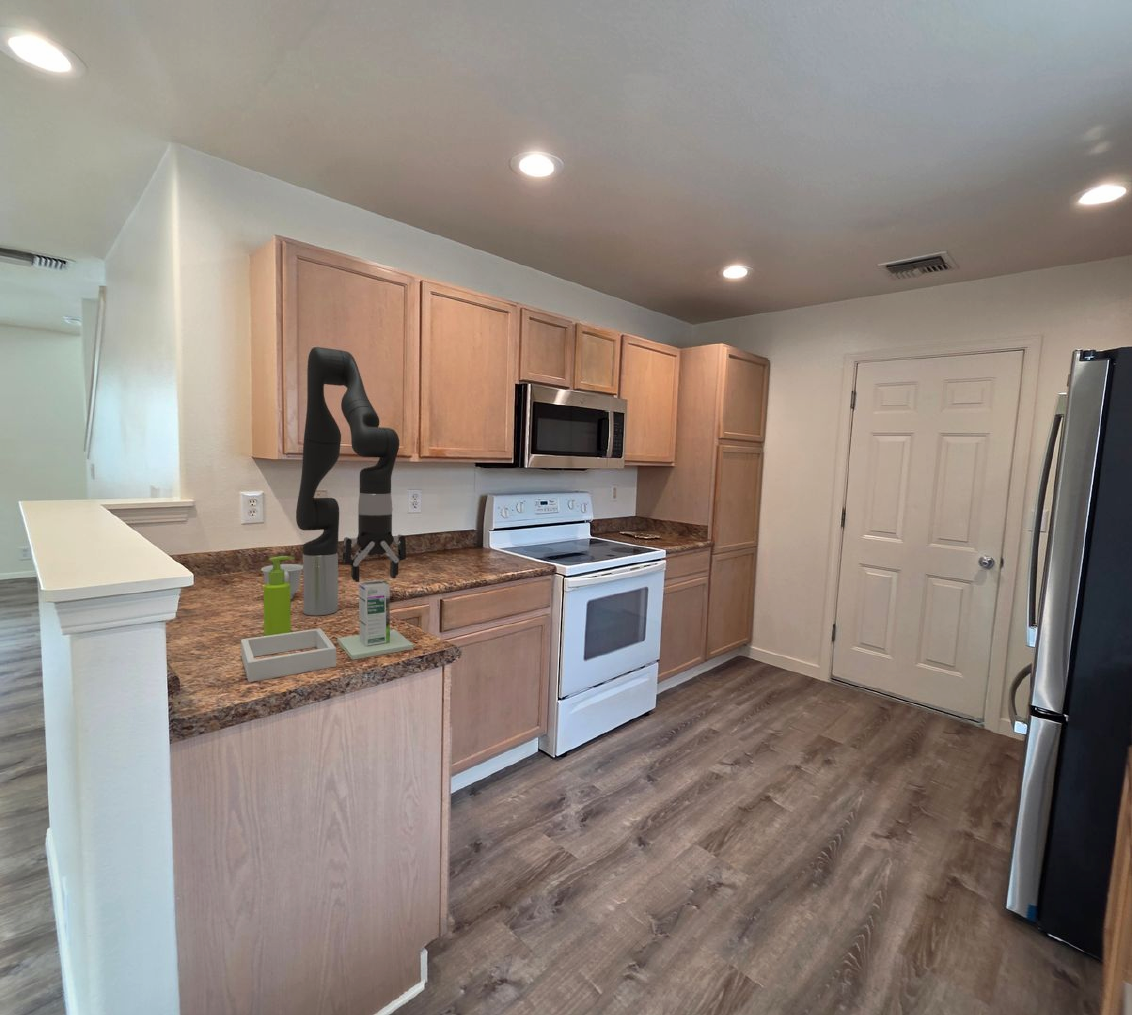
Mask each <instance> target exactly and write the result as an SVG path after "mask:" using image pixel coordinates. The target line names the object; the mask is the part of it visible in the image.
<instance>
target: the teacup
mask: <svg viewBox="0 0 1132 1015" xmlns="http://www.w3.org/2000/svg"><path fill="white" fill-rule="evenodd" d="M272 569H273V564H271V565H266V566H263V567H262V568H261V569H260V570H261V571H262V573H263V576H264V581H265V583H264V584H265V585H266V584H269V571H271V570H272ZM281 569H282V570H284V575H285V582H286V583H290V600H292V599H294V595H295V594H296V593H297V592H298V591H299V589H300V585H301V577H302V573H303V564H298V563H297V564H296V563H282V564H281Z"/></svg>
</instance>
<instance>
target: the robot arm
mask: <svg viewBox="0 0 1132 1015" xmlns="http://www.w3.org/2000/svg"><path fill="white" fill-rule="evenodd" d="M306 371H307V372H306V373H307V374H306V375H307V380H306V381H307V382H306V383H307V385H306V386H307V390H306V391H307V399H306V400H307V401H306V413H305V426H304V432H303V433H304V435H303V444H302V462H301V463H302V466H301V476H300V477H301V478H300V483H299V484H300V486H299V492H298V496H297V497H298V498H297V502H296V503H297V504H296V510H295V512H296V513H295V514H296V515H295V520H296V525H297V528H298V529H299V530H301V531H322V534H320V535H319V536H318V537H316V538H314V539H312V540H310V541H308V542H305V543H303V545H302V566H303V569H302V577H303V578H302V581H303V582H302V584H303V585H302V586H303V589H302V590H303V592H302V595H303V596H302V597H303V598H302V599H303V601H302V602H303V604H302V605H303V607H302V608H303V609H302V610H303V614H304V615H306V616H326V615H332V614H334V613H337V612H338V611H339V557H338V556H339V555H338V554H339V553H338V552H339V550H338V549H339V533H340V532H339V528H340V507H339V503H338V501H337V499H336V498H334V497H315V495H316V491H317V489H318V487H319V485H320V483H321V482H322V480H323V479H324V478H325V477H326V475H327V474H328V473H330V471H331V469H332V468H333V467H334V466H335V465H336V464H337V461H338V460H339V457H340V452H341V441H342V432H341V429H340V426H339V425H338V424H337V421H336V419H335V418H334V417H333V415H332V413H331V411H330V409H329V407H328V405H327V402H326V398H325V385H330V386H339V387H340V386H345V388H346V391H344V394H343V396H342V398H341V402H340V403H341V404H340V407H341V411H342V415H343V416H344V418H345V419H346V422H347V425H348V426H349V429H350V431H349V432H350V438H351V440H350V442H351V443H350V444H351V448H352V450H353V452H354V453H355V454H356V455H358V456H359V457H361V458H362V457H364V458H379V459H378V461H377V463H376V464H375V465H373V466H370V467H364V468H362V469H361V470H360V471H359V495H358V503H357V504H358V506H357V507H358V511H357V512H358V514H357V515H358V518H357V520H358V522H357V524H358V526H357V527H358V530H357V532H358V534H357V536H356V538H354V537H352V538H351V537H344V538H343V546H342V560H341V561H342V562H343V564H345V565H347V566H348V565H350V570H351V571H350V572H351V573H350V576H351V579H352V580H353V581H354V582H355V583H360V566H359V564H360V563H361V562H362V560H364V559H365V558H366V556H374V555H379V556H382V555H384V554H385V555H386V556H387V557H388V559H389V560H391V561H390V563H389V565H390V570H389V571H390V572H389V573H390V574H389V575H390V578H391V579H396V577H397V576H398V575H399V563H400V562H401V561H404V560H405V561H406V559H407V544H406V543H407V542H406V536H405V535H403V534H398V535H393V533H392V532H393V500H392V476H393V471H394V467H395V463H396V459H397V456H398V453H399V450H400V438H399V435H398V432H396V431H395V429H393V428H390V427H379V426H380V417H379V415H378V413H377V412H376V410H375V408H374V407H373V405H372V403H371V401H370V400H369V397H368V394H367V393H366V389H365V386H364V383H363V379H362V376H361V373H360V370H359V367H358V364H357V361H356V359H355V357H354V356H353V355H352V353H350V352H349V351H345V350H341V349H334V348H328V347H322V346H321V347H319V346H315V347H312V348H311V350H310V351H309V354H308V357H307V370H306ZM394 542H395V544H396V545H397V555H395V552H394V551H393V550H392V548H391V545H392V544H393V543H394ZM355 544H357V545H358V547H359V548H358V549H357V551H356V552H355V555H354V556H353V557H352V556H351V555H352V548H353V547H355Z"/></svg>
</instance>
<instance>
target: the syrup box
mask: <svg viewBox="0 0 1132 1015" xmlns="http://www.w3.org/2000/svg"><path fill="white" fill-rule="evenodd" d="M390 589H391V586H390V583H389V582H388V581H386V580H384V579H380V580H379V579H378V580H371V581H370V580H369V581H368V580H367V581H359V582H358V603H359V604H358V605H359V606H358V607H359V613H358V616H359V617H358V618H359V621H358V622H359V625H358V626H359V635H360V640H361V642H362V643H363V644H364V645H365V646H370V645H376V644H382V643H389V642H390V630H391V623H390V622H391V618H390V617H391V616H390V615H391V614H390V610H391V606H390V602H391V600H390V599H391V594H390Z"/></svg>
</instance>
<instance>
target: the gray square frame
mask: <svg viewBox="0 0 1132 1015" xmlns="http://www.w3.org/2000/svg"><path fill="white" fill-rule="evenodd" d="M311 648H316V649H312V650H307V651H300V652H294V653H289V654H288V653H287V654H282V655H275V656H268V657H264V658H263V657H262V658H257V659H255V658H256V657H260V656H267V655H273V654H278V653H279V654H280V653H286V652H292V651H297V650H304V649H311ZM240 651H241V652H240V653H241V655H240V656H241V660H242V664H243V668H244V672H245V675H246V678H247V682H248V683H252V682H258V681H263V680H269V679H275V678H280V677H285V676H291V675H296V674H301V673H307V672H312V671H313V672H314V671H318V670H325V669H329V668H334V667H337V647H336V646H335V645H334V643H333V642H332V641H331V640H330V639H329V637H328V636H327V635H326V634H325V632H324V631H323V629H322V628H320V627H318V628H313V629H305V630H298V631H293V632H292V631H291V633H284V634H276V635H269V636H257V637H256V636H255V637H249V638H244V639H242V638H241V640H240ZM254 657H255V658H254Z"/></svg>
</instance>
